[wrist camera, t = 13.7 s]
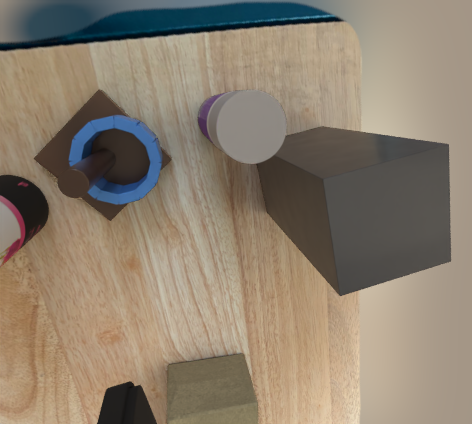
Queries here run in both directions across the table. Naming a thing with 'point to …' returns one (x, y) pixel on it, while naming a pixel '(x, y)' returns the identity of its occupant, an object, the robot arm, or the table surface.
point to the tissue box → (211, 392)
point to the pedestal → (361, 203)
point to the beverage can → (19, 214)
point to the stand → (97, 156)
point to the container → (244, 124)
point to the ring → (103, 188)
